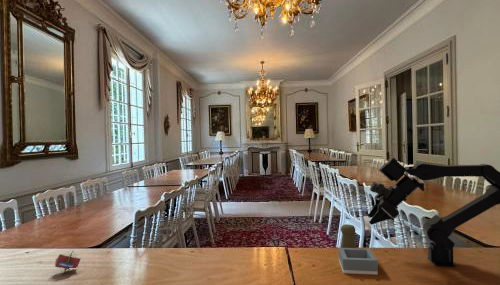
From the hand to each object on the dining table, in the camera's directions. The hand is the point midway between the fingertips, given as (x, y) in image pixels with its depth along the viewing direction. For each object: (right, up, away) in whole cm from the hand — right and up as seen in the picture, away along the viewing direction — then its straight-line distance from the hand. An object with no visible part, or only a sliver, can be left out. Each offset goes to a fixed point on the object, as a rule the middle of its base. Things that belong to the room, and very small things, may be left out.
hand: (369, 220), depth 112 cm
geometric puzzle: (-107, -16, -7) cm, 108 cm away
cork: (-7, -14, +3) cm, 16 cm away
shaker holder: (-8, -14, -9) cm, 18 cm away
